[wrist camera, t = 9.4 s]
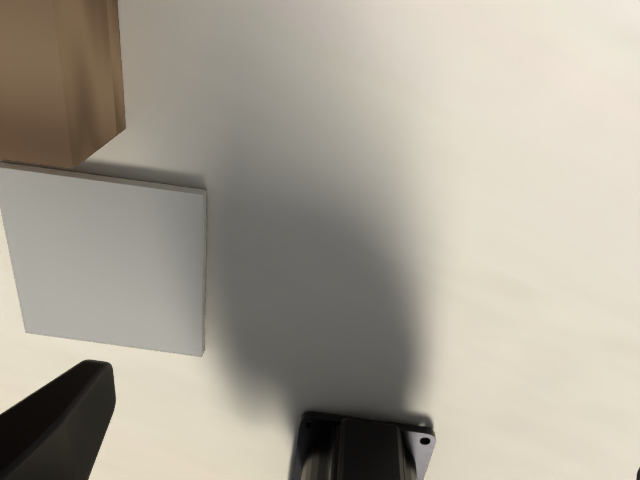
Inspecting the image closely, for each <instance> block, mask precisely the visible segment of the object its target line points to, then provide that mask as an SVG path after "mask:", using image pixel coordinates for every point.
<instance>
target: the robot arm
mask: <svg viewBox="0 0 640 480" xmlns="http://www.w3.org/2000/svg"><path fill="white" fill-rule="evenodd" d="M115 403H116V395H115V385H114V375H113V368H112V365H111V364H110V363H108V362H104V361H97V360H84V361H82V362H80V363H79V364H77V365H75V366H74V367H72V368H71V369H69V370H68V371H66V372H65V373H63V374H62V375H60V376H59V377H57V378H55V379H54V380H52V381H51V382H49V383H48V384H46V385H45V386H43V387H42V388H40V389H39V390H37V391H35V392H34V393H32V394H31V395H29V396H28V397H26V398H25V399H23V400H22V401H20V402H18V403H17V404H15V405H14V406H12V407H11V408H9V409H8V410H6V411H5V412H3V413H2V414H0V480H88V479H89V476H90V473H91V471H92V468H93V465H94V463H95V460H96V457H97V455H98V452H99V449H100V447H101V444H102V441H103V439H104V436H105V433H106V431H107V428H108V425H109V423H110V420H111V417H112V415H113V412H114V408H115ZM310 422H311V423H310ZM424 437H427V438H424ZM435 443H436V439H435V433H434V431H433V430H432V429H431V428H428V427H421V426H414V425H407V424H400V423H393V422H385V421H378V420H371V419H364V418H356V417H349V416H342V415H335V414H327V413H320V412H313V411H308V412H305V413H303V414H302V416H301V420H300V427H299V434H298V441H297V448H296V456H295V463H294V470H293V477H292V480H424V476H425V473H426V470H427V467H428V464H429V461H430V458H431V455H432V452H433V449H434V446H435ZM637 480H640V468H639V470H638V472H637Z"/></svg>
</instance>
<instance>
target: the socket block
mask: <svg viewBox="0 0 640 480" xmlns="http://www.w3.org/2000/svg"><path fill="white" fill-rule="evenodd" d="M125 129H126V125H125V110H124V95H123V80H122V65H121V50H120V35H119V20H118V5H117V0H0V159H4V160H11V161H19V162H26V163H34V164H41V165H48V166H56V167H63V168H70V169H74V168H75V167H76V166H78V165H79V164H80V163H82V162H83V161H84V160H85V159H87V158H88V157H89V156H91V155H92V154H93V153H95V152H96V151H97V150H99V149H100V148H101V147H102V146H104V145H105V144H106V143H108V142H109V141H110V140H112V139H113V138H114V137H116V136H117V135H118V134H119V133H121V132H122V131H123V130H125Z"/></svg>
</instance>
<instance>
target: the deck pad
mask: <svg viewBox="0 0 640 480" xmlns="http://www.w3.org/2000/svg"><path fill="white" fill-rule="evenodd" d="M0 208H1V213H2V218H3V223H4V228H5V233H6V238H7V243H8V248H9V253H10V258H11V263H12V268H13V273H14V278H15V283H16V288H17V293H18V297H19V302H20V307H21V312H22V317H23V322H24V327H25V332H26V333H30V334H38V335H45V336H52V337H59V338H67V339H74V340H81V341H89V342H96V343H103V344H110V345H118V346H125V347H132V348H139V349H147V350H154V351H161V352H169V353H176V354H183V355H190V356H198V357H202V356H203V353H204V351H205V301H206V210H207V190H205V189H197V188H190V187H182V186H175V185H168V184H160V183H153V182H146V181H138V180H131V179H123V178H116V177H109V176H101V175H94V174H87V173H79V172H72V171H64V170H57V169H50V168H42V167H35V166H28V165H20V164H13V163H5V162H0Z"/></svg>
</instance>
